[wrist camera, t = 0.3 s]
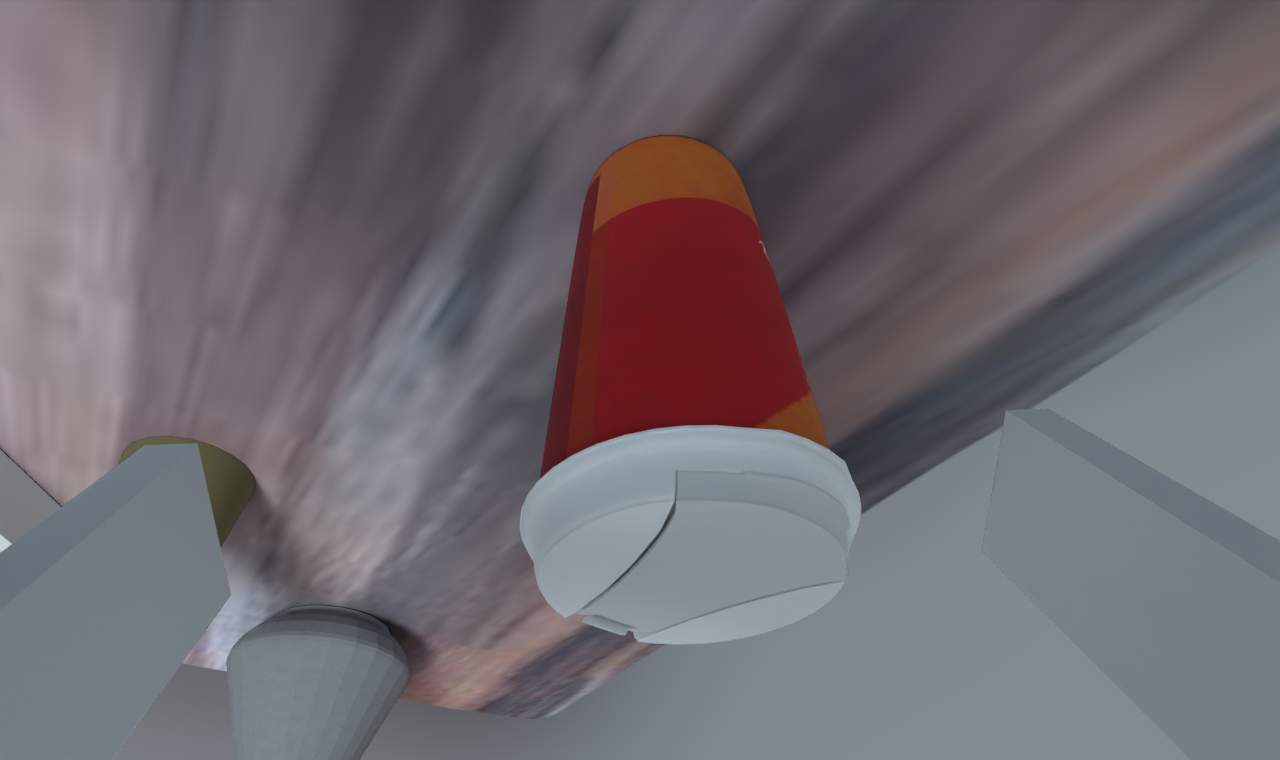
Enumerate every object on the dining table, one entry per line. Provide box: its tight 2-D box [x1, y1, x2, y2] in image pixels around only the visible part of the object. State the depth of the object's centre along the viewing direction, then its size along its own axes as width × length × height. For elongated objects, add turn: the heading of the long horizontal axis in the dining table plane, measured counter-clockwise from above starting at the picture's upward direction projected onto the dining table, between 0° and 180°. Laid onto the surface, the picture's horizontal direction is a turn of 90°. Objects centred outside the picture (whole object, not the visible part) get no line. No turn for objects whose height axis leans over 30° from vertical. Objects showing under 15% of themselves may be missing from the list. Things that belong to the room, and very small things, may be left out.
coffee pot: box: [227, 605, 410, 760], centre depth 47 cm, size 21×12×15 cm, turn 66°
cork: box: [118, 436, 256, 548], centre depth 32 cm, size 6×6×11 cm
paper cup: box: [519, 135, 861, 644], centre depth 20 cm, size 8×8×14 cm
